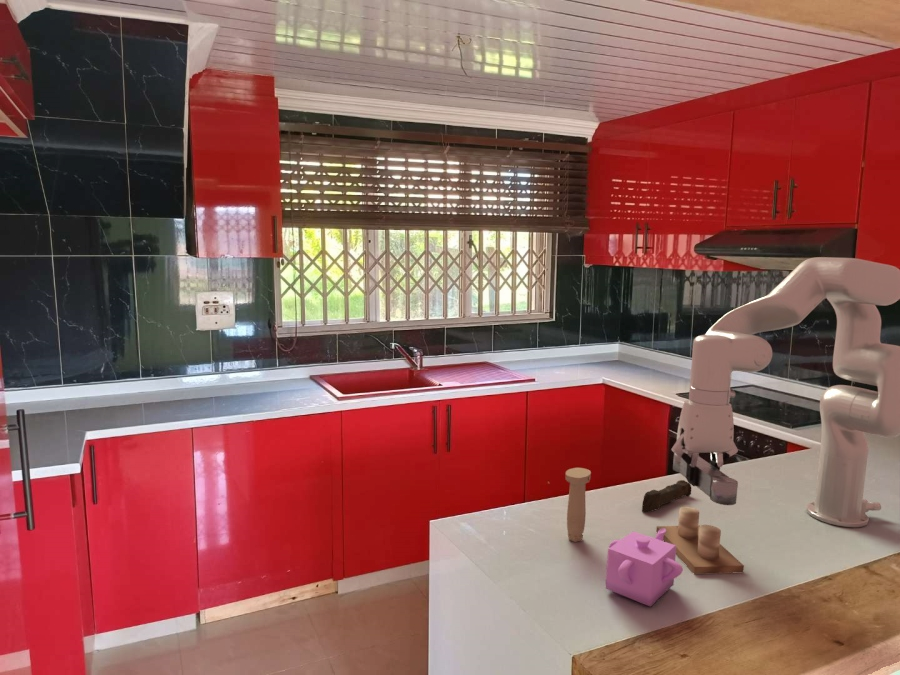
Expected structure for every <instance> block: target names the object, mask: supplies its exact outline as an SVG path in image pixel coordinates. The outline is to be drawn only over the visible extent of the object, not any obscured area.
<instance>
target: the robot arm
mask: <svg viewBox="0 0 900 675" xmlns="http://www.w3.org/2000/svg"><path fill="white" fill-rule="evenodd" d="M825 299H827V301H828V302H829V303H830V305H831V306H832V308H833V309H834V310H833V311H834V312H835V315H836V330H835V341H834V348H833V355H832V369H833V373H834V374H835V375H836V376H837V377H839V378H841V379H843V380H847V381H851V382H855V383H860V384H865V385H866V384H867V385H870V386H876V387H877V391H875V390H871V389H867V388H862V387H857V386H852V385H845V384H836V385H832V386H830V387H828V388H826V389H825V390H824V391H823V393H822V394H821V396H820V400H819V413H820V423H821V437H820V438H821V439H820V440H821V441H820V450H819V456H818V469H817V478H816V487H815V496H814V497H815V498H814V501H813V502H810V503H808V504H807V505H806V512H807V514H808V515H810V516H811V517H812V518H814V519H816V520H818V521H821V522H824V523H826V524H830V525H833V526H838V527H843V528H844V527H845V528H861V527H865V526H867V525H868V524H869V515H868V514H866V513H868V512H869V511H873V512H874V511H876V512H877V511H881V510H882V505H881V503H880V502H877V501H875V502H871V501H870V502H868V500H867V499H865V498H864V494H865V493H864V492H865V484H866V475H867V474H866V473H867V468H868V467H867V466H868V458H869V444H868V441H867V439H866V435H865V433H866V434H870V435H874V436H878V437H882V438H896V437H899V436H900V345H895V344H889V343H882V342H881V332H882V330H881V329H882V317H881V313H880V311H879V309H878V308H877V306H885V307H886V306H889V305H893V304H895V303H896V302H897V301H900V269H899V268H898V267H896V266H893V265H890V264H886V263H880V262H875V261H871V260H865V259H861V258H854V257H833V256H832V257H829V256H828V257H825V256H821V257H820V256H819V257H818V256H817V257H811V258H807V259H806V260H803V261H802V262H801V263H799V265H797V266H796V267H795V268H794V269H793V270H792V271H791V272H790V273H789V274H788V275H787V276H786V277H785V278H784V279H783V280H782V281H781V282H780V283H779V284H778V285H777V286H775V287H774V288H773V289H772V290H771V291H770V292H769V293H768V294H767V295H765V296H763V297H759V298H757V299H755V300H753V301H750V302H748V303H746V304H744V305H741V306H739V307H736V308H734V309H733V310H730V311H728V312H727V313H725V314H724V315H723V316H721V318H719V319H718V320H717V321H716V322H715V323H714V324H713V325H712V326H710V327H709V329H708V330H707V331H706V333H704V334H701V335H698V336H696V337H695V338H694V339H693V341H692V342H693V343H692V353H691V368H690V381H689V391H688V392H689V394H688V400H685V401H684V402H683V406H682V408H681V412H680V416H679V420H678V426H677V434H676V441H675V442H674V444H673V446H672V448H671V450H670V451H671V452H673V454H674V453H675V454H677V455H678V456H680V457H681V458H682V459H683V460H684V461H685V462H686V463H687V470H686V478H685V479H686V480H687V481H686V482H688V483H690V485H691V486H693V487H697V480H698V467H696V464H697V460H698V456H700V455H699V454H700V453H701V454H704V453H707V454H709V453H710V454H709V455H710V462H708V463H709V464H711V465H712V466H714V467H715V468H717V469H718V470H720V471H721V468H722V467H723V465H724V463H725V462H726V461H727V460H728V459H729V458H731V457H732V456H733V455H736V454H737V453H738V451H739V448H738V447H737V446H736V443H735V442H734V437H735V436H734V434H735V431H734V424H735V423H734V414H733V407H732V406H733V405H732V404H731V403H730V402H731V398H735V397H736V392H735V390H732V389H731V382H732V374H733V373H732V372H743V373H756V372H759V371H762V370H764V369H765V368H767V367H768V365H769V364H770V363H771V361H772V358H773V349H772V346H771V344H770V343H769V342H768V341H767V340H766V339H764V338H763V337H761V336H758V335H755V334H758V333H763V332H770V331H777V330H782V329H788V328H791V327H794V326H797V325H799V324H800V323H801V322H802V321H803V320H804V319H805V318H806V317H807V316H808V315H809V314H810V313H811V312H812V311H813V310H815V308H816V307H817V306H818V305H819V304H820V303H821V302H822V301H823V300H825ZM682 449H686V451H687V452H686V453H685V452H683V451H682Z"/></svg>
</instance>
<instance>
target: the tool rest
mask: <svg viewBox="0 0 900 675" xmlns="http://www.w3.org/2000/svg"><path fill="white" fill-rule="evenodd" d="M699 522H700V511H699V510H698V509H697V508H694V507H690V506H682V507H680V508H679V511H678V525H670V526H669V525H660V526H659V525H658V526H656V528H655V530H656V532H657V533H658V531H659V530H660V529H666V532H665V534H664V537H663V540H664V541H665V542H667V543H670V544H673V545H676V556H677V557H678V558H679V560H680V561H681V562H682V561H683V562H684V563H685V564H686V565H687V566H686V565H685V564H684V563H683V562H682V563H683V564H684V565H685V566H686V567H687V568H688V567H689V568H688V569H689V570H690V571H691V573H692V574H693V573H694V574H693V575H696V574H695V573H717V574H734V573H733V572H743V573H744V566H745V565H744V564H743V563H742V562H741V561H739V559H738V558H737V557H735V556H734V555H733V554H732V553H731V552H730V551H729V550H727V549H726V547H724V546H723V545H722V544H721V534H722V532H721V529H720V528H719V527H717V526H714V525H711V524H710V525H709V524H703V525H701V524H699ZM656 532H655V533H656ZM657 533H656V534H657Z"/></svg>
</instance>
